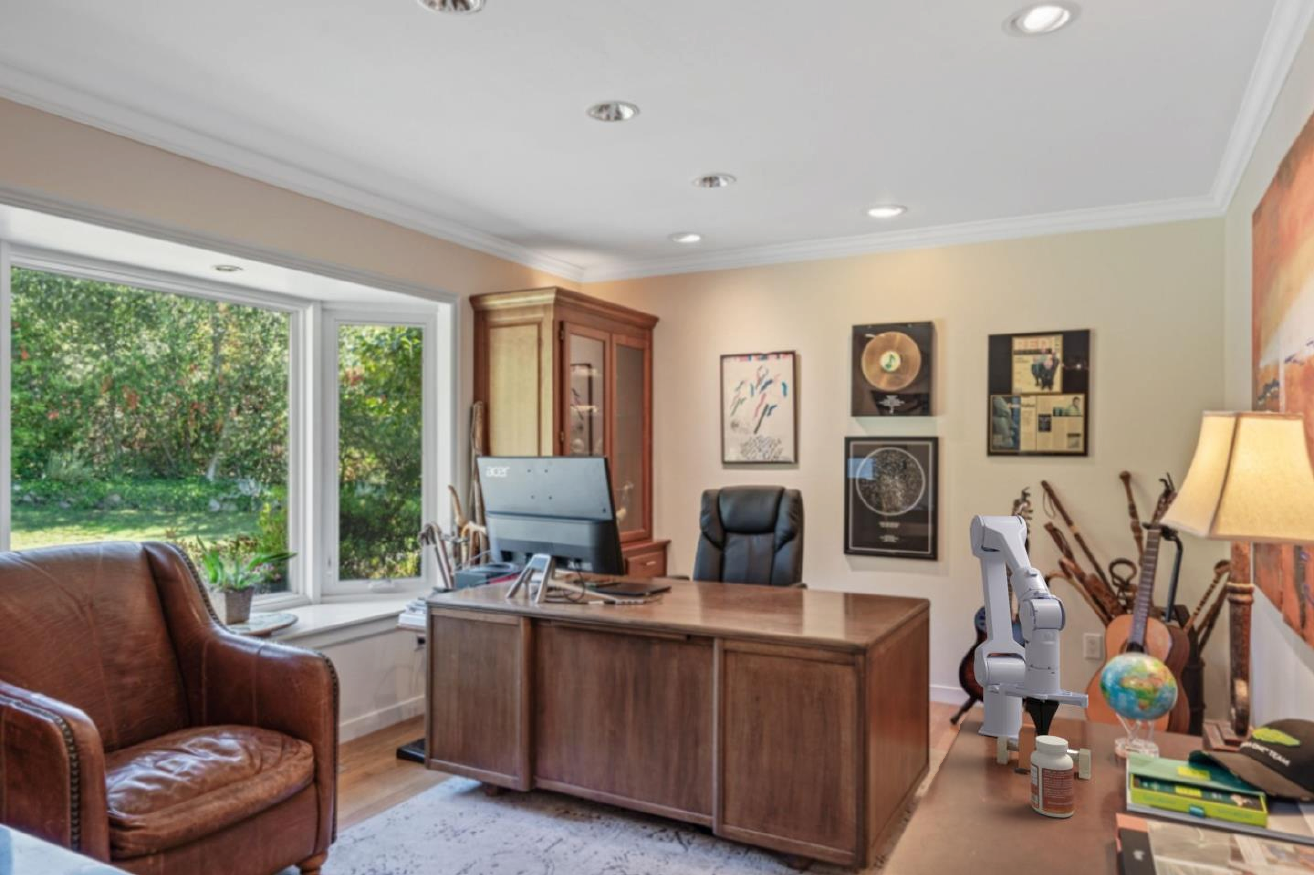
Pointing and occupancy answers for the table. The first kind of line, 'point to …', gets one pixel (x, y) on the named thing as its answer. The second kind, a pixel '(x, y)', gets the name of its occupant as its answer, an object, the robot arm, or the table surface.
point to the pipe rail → (1013, 745)
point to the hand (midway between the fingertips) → (1043, 741)
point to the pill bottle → (1052, 777)
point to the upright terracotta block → (1026, 745)
